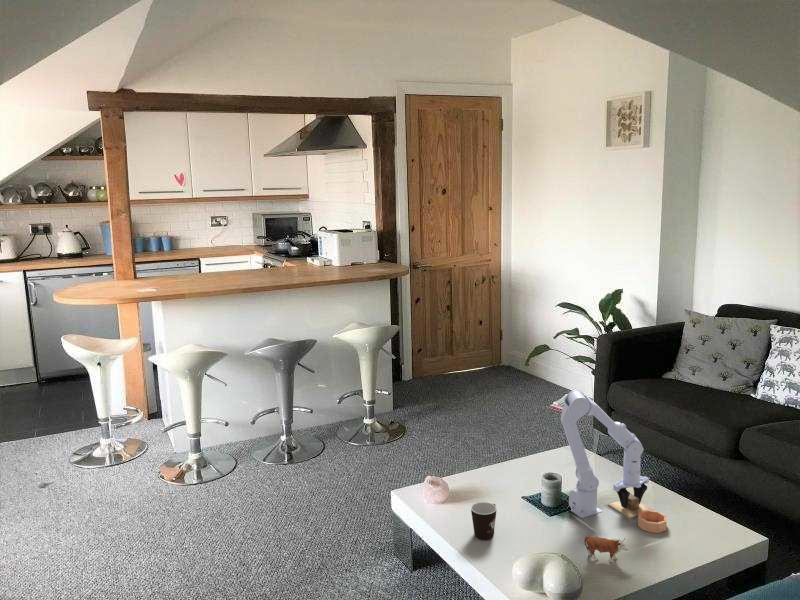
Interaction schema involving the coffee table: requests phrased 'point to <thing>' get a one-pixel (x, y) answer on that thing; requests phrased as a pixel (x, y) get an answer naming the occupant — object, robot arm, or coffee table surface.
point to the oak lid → (629, 507)
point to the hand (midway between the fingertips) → (630, 505)
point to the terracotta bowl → (652, 521)
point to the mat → (620, 514)
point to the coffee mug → (483, 520)
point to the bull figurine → (605, 546)
